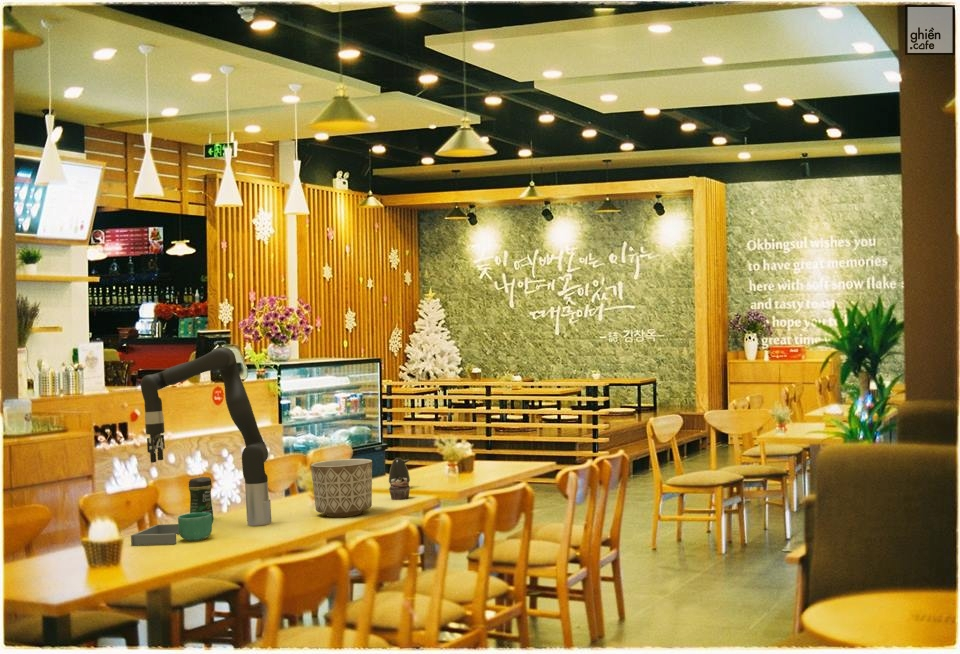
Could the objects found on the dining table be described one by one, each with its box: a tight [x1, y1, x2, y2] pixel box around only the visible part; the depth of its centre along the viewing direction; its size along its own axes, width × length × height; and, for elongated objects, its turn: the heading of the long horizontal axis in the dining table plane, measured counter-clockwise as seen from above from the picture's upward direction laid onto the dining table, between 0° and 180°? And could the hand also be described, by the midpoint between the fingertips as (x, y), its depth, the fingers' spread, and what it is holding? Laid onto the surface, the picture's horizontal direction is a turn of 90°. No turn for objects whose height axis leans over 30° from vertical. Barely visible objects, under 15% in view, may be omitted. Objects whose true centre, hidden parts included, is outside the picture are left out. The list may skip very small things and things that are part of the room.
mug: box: [177, 512, 215, 542], centre depth 448 cm, size 17×13×10 cm
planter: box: [310, 458, 373, 518], centre depth 490 cm, size 26×26×22 cm
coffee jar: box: [188, 476, 214, 516], centre depth 493 cm, size 10×8×19 cm
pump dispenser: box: [388, 457, 411, 487], centre depth 559 cm, size 10×10×15 cm
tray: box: [130, 523, 180, 547], centre depth 450 cm, size 18×23×4 cm
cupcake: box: [388, 477, 411, 501], centre depth 526 cm, size 10×10×10 cm
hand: (157, 461), depth 478 cm, fingers open, 8 cm apart
